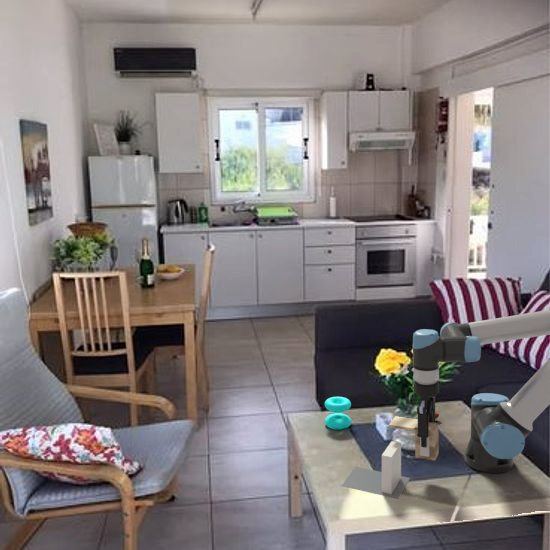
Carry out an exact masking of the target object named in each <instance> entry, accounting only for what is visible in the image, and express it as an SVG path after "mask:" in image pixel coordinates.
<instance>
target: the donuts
mask: <svg viewBox="0 0 550 550" xmlns="http://www.w3.org/2000/svg"><path fill="white" fill-rule="evenodd" d="M351 406H352V402H351V400H350V399H349V398H347V397H343V396H332V397H329V398H327V399H326V400H325V402H324V407H325V408H326V410H327V411H329V412H331V414H328V415H327V416H326V418H325V419H324V423H325V425H326V427H328V428H330V429H332V430H336V431H337V430H339V431H340V430H345V429H347V428H349V427H350V426H351V425H352V419H351V417H350V416H348V415H347V414H345V413H344V412H347V411H348V410H349V409H350V408H351Z"/></svg>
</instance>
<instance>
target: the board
mask: <svg viewBox="0 0 550 550" xmlns="http://www.w3.org/2000/svg"><path fill="white" fill-rule="evenodd" d="M410 480H411V477H407V476H402V475H401V479H400V481H399V483H398V484H397V486H396V488H395V489H394V491H393V493H392V494H387V493H383V492H382V471H378V470H374V469H369V468H364V467H359V466H355V467H354V468H353V470H352V471H351V472H350V474H349V475H348V476H347V477H346V478H345V480H344V481H343V483H342V484H341V485H340V486H341V487H345V488H347V489H349V488H350V489H353V490H357V491H362V492H366V493H370V494H375V495H379V496H382V497H383V496H384V497H387V498H388V497H389V498H392V499H397V500H399V498H400V496H401V495H402V493H403V491H404V489H405V488H406V486H407V485H408V484H409V483H408V482H409V481H410Z"/></svg>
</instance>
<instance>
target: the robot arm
mask: <svg viewBox="0 0 550 550" xmlns="http://www.w3.org/2000/svg"><path fill="white" fill-rule="evenodd" d="M439 332H440V333H439ZM549 335H550V309H546V310H545V309H544V310H539V311H533V312H528V313H521V314H515V315H510V316H502V317H498V318H497V317H496V318H490V319H485V320H478V321H473V322H472V321H471V322H465V323H457V322H454V321H450V322H446V323H444V324H443V325H442V327H440V331H436V330H435V329H427V328H426V329H425V328H423V329H418V330H416V331H415V332H413V335H412V365H413V366H412V367H413V368H411V372H413V393H414V394H415V395H417V396H419V398H418V404H417V405H418V406H419V407H417V414H418V434H417V436H418V437H420V455H421V456H426V457H429V456H430V450H429V436H428V430H429V422H431V423H436V422H437V421H436V419H435V412H436V396H437V395H438V394H439V393H440V383H439V380H440V368H439V366H440V365H439V364H440V363H472V362H474V363H475V362H479V361H480V359H481V356H482V355H481V354H482V347H481V346H482V345H487V344H489V345H490V344H496V343H502V342H507V341H515V340H521V339H522V340H523V339H527V338H528V339H529V338H535V337H536V338H537V337H540V336H542V337H543V336H549ZM470 406H471V407H470V409H471V411H470V437H469V441H468V443H467V445H466V449H465V451H464V462H465V464H466V465H467V466H468V467H470V468H471V469H474V470H476V471H479V472H483V473H487V474H488V473H489V474H500V473H501V474H502V473H506V472H508V471H510V470H512V469H513V467H514V458H516V457H517V456H519V455H521V453H522V452H523V450H524V448H525V445H526V444H525V443H526V438H527V437H528V436H529V434H530V433H532V431H533V422H534V421H535V420H536V419H537V418H538V417H539V416H540V415H541V413H543V412H544V411H545V410H546V408H548V407H549V406H550V357H549V358H548V359H547V360H546V362H544V364H543V365H541V367H540V368H539V369H538V370H536V372H535V373H534V374H533V376H532V377H530V378H529V380H528V381H527V382H526V383H525V384H524V385H523V386H522V387H521V388H520V389H519V390H518V392H517V393H516V394H515V395H513V397H512V398H511V399H509V397H507V396H505V395H502V394H498V393H491V392H490V393H489V392H483V393H477V394H474V395H473V396H472V398H471V403H470Z"/></svg>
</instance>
